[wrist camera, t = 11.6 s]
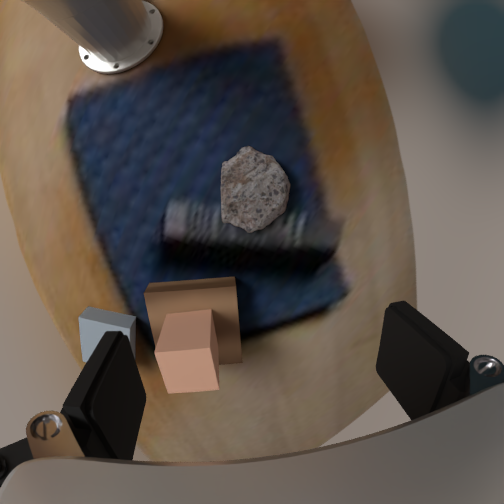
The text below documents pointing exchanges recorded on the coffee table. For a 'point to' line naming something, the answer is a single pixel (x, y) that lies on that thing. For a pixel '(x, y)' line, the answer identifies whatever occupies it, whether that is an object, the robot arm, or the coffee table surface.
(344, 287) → the coffee table surface
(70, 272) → the coffee table surface
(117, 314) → the slate block
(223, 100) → the coffee table surface
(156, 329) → the walnut block
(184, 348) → the terracotta block
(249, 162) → the rock
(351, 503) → the robot arm
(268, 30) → the coffee table surface
